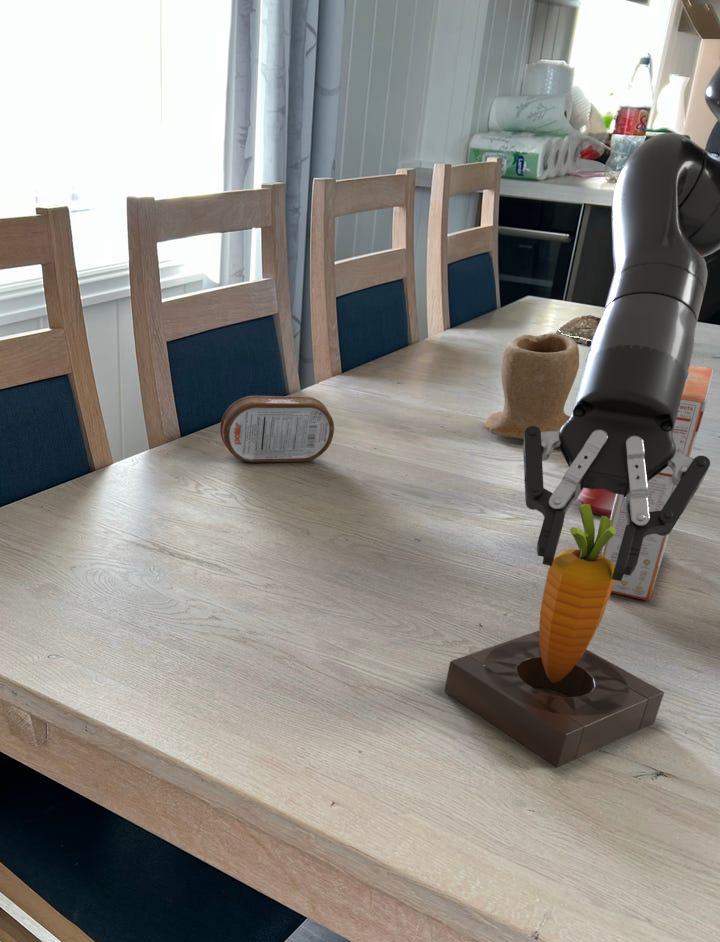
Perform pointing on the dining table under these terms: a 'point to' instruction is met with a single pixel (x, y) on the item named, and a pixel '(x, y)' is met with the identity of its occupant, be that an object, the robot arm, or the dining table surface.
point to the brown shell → (581, 328)
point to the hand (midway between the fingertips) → (582, 568)
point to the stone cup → (535, 384)
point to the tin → (277, 429)
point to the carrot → (575, 597)
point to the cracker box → (660, 491)
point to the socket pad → (552, 699)
